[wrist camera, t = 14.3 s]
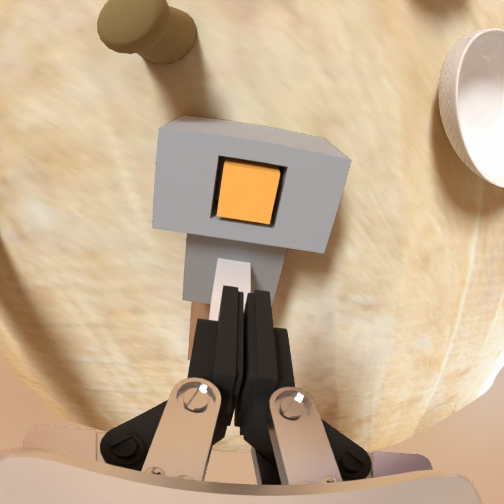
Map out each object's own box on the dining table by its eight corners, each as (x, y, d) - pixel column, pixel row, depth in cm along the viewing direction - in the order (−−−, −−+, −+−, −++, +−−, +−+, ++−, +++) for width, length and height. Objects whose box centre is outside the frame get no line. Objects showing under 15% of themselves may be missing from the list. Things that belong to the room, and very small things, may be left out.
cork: (208, 42, 25) (186, 22, 15) (154, 75, 26) (108, 75, 17) (177, -3, 22) (143, -38, 13) (126, 31, 24) (71, 15, 14)
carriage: (189, 274, 36) (171, 342, 27) (195, 209, 32) (173, 265, 23) (268, 286, 36) (273, 355, 27) (283, 222, 32) (296, 283, 23)
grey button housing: (175, 190, 33) (152, 228, 25) (183, 114, 29) (159, 127, 21) (312, 211, 34) (330, 254, 26) (330, 139, 30) (358, 162, 22)
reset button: (220, 197, 27) (216, 216, 24) (227, 152, 25) (223, 164, 22) (266, 204, 28) (269, 224, 24) (276, 160, 26) (280, 173, 22)
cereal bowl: (528, 144, 28) (563, 160, 22) (443, 189, 32) (476, 213, 26) (495, 21, 21) (533, 20, 15) (394, 49, 25) (428, 45, 19)
